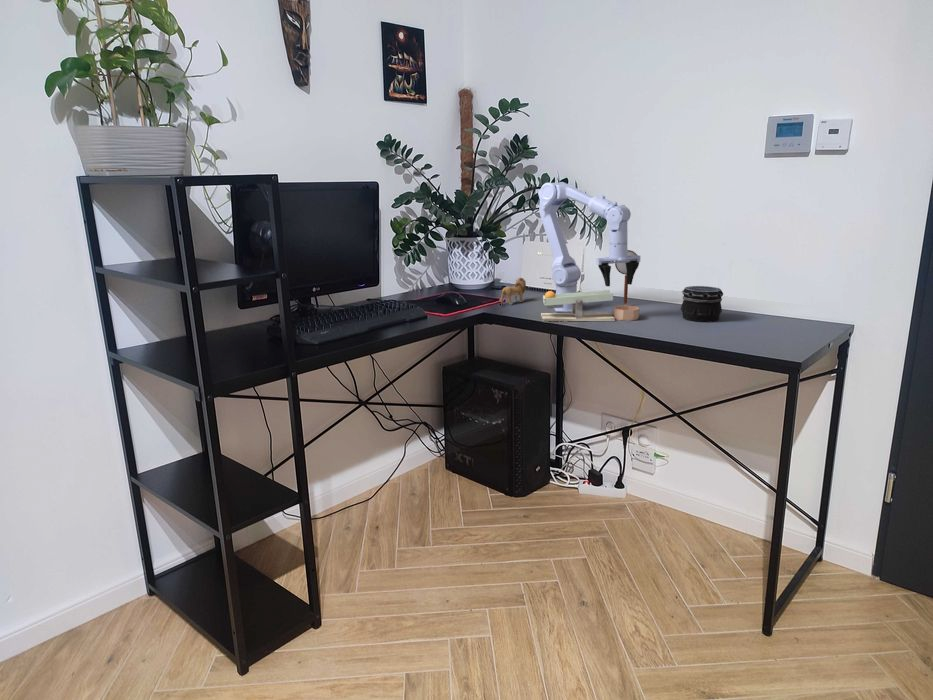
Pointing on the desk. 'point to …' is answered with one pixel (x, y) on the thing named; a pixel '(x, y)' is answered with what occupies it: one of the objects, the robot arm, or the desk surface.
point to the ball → (550, 294)
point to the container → (701, 303)
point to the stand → (577, 315)
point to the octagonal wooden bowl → (626, 312)
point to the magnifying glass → (622, 269)
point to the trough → (577, 298)
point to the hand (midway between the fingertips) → (618, 285)
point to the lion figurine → (514, 291)
